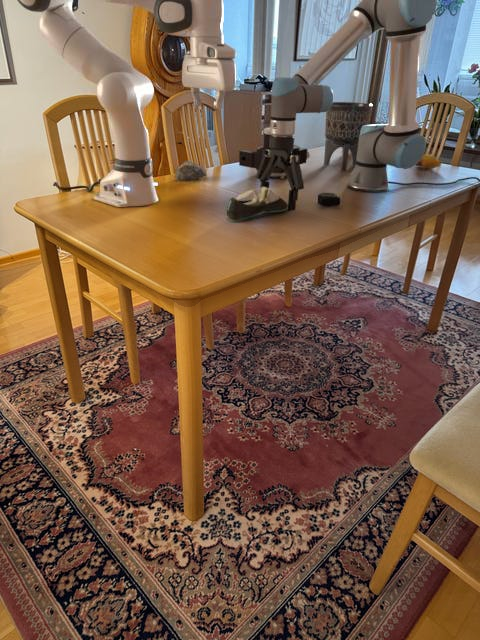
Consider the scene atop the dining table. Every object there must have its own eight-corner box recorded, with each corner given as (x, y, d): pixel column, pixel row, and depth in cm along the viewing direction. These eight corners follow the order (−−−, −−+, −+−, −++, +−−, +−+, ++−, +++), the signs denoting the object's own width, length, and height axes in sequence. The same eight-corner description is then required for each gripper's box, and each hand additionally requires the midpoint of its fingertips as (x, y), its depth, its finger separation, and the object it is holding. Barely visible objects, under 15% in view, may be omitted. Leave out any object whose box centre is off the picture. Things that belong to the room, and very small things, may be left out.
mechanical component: (240, 120, 182) (283, 115, 202) (239, 174, 192) (280, 164, 212) (283, 126, 170) (325, 120, 190) (280, 183, 180) (320, 171, 200)
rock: (199, 174, 190) (198, 158, 187) (211, 178, 185) (211, 162, 181) (172, 179, 183) (171, 162, 179) (184, 183, 177) (183, 166, 174)
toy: (415, 162, 205) (409, 155, 218) (417, 175, 208) (411, 168, 221) (441, 154, 202) (433, 147, 215) (443, 168, 205) (435, 160, 218)
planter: (313, 167, 208) (319, 103, 195) (331, 160, 222) (338, 101, 209) (353, 173, 199) (362, 107, 185) (369, 166, 213) (379, 104, 199)
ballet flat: (294, 211, 148) (296, 186, 144) (239, 225, 135) (239, 198, 131) (277, 205, 154) (278, 181, 150) (221, 219, 140) (221, 192, 136)
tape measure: (320, 209, 151) (321, 197, 149) (314, 203, 157) (315, 192, 155) (339, 208, 152) (341, 197, 150) (333, 202, 158) (334, 191, 156)
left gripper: (175, 49, 126) (177, 104, 133) (221, 50, 113) (221, 111, 120) (193, 50, 130) (195, 103, 137) (240, 51, 117) (239, 109, 124)
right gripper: (246, 131, 143) (244, 199, 154) (303, 141, 127) (296, 217, 138) (263, 129, 147) (260, 196, 158) (320, 139, 131) (313, 212, 142)
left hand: (207, 107), depth 128 cm, fingers open, 8 cm apart
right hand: (277, 206), depth 148 cm, fingers open, 12 cm apart
